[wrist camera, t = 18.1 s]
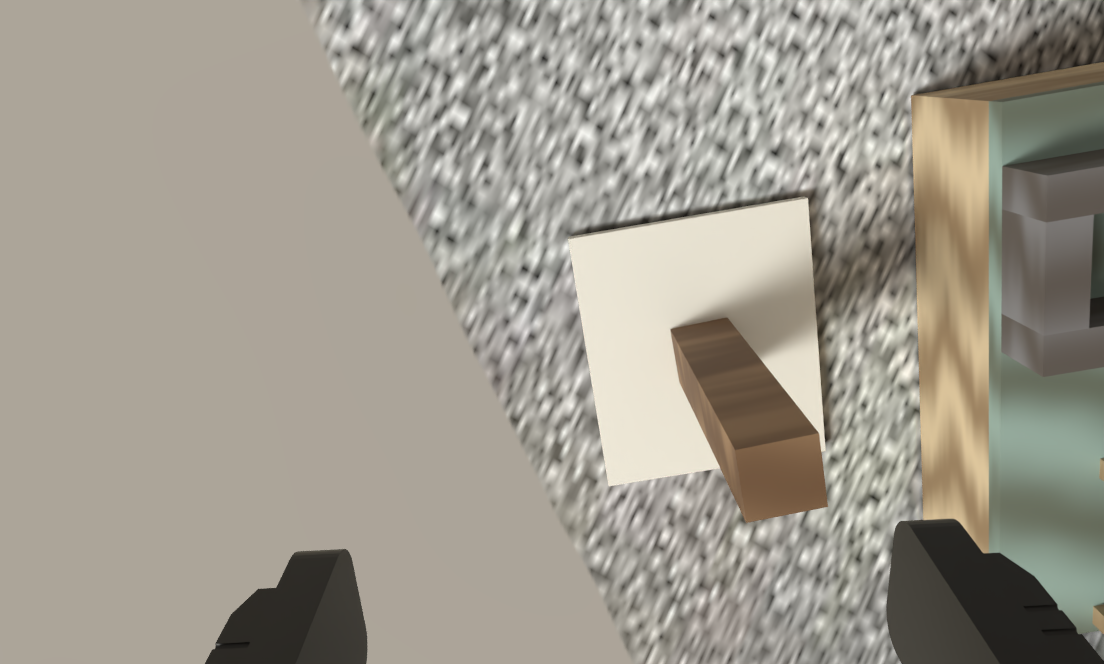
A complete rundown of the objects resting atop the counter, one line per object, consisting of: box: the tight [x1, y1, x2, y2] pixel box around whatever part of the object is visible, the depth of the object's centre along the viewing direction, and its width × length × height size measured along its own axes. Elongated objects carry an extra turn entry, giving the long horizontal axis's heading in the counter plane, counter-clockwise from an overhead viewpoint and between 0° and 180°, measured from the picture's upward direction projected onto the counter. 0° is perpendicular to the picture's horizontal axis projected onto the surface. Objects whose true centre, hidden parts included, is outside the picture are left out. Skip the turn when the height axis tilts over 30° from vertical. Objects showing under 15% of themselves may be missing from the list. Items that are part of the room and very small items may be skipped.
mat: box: [568, 197, 825, 486], centre depth 43 cm, size 14×12×1 cm
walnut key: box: [670, 317, 828, 523], centre depth 36 cm, size 3×3×14 cm
